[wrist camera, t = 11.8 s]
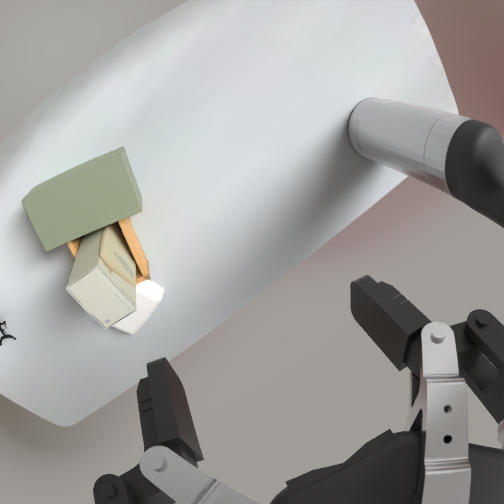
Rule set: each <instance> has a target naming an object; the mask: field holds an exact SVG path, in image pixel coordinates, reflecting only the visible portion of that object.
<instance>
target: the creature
mask: <svg viewBox="0 0 504 504" xmlns="http://www.w3.org/2000/svg"><path fill="white" fill-rule="evenodd" d="M4 323H5V326H6V322H5V321H4V322H3V323H0V331H1V333H2V334H3V335H4V336H2V337H1V339H0V346H1V345H2V340H3V339H4V338H14V337H13V336H11V335H8V334H7V333H6V332H5V331H4V329H2V328H1V325H4ZM3 331H4V332H5V333H6V334H7V335H5V334H4V332H3ZM14 339H15V340H16V338H14ZM14 339H13V340H14Z"/></svg>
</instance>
